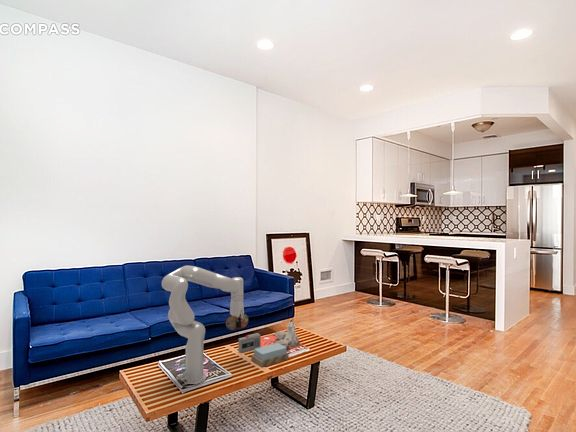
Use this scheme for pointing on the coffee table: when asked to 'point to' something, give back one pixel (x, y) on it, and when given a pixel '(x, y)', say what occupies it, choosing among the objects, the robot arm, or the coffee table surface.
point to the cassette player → (249, 343)
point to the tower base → (269, 360)
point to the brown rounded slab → (232, 322)
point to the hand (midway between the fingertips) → (237, 326)
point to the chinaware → (288, 336)
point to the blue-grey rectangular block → (270, 351)
